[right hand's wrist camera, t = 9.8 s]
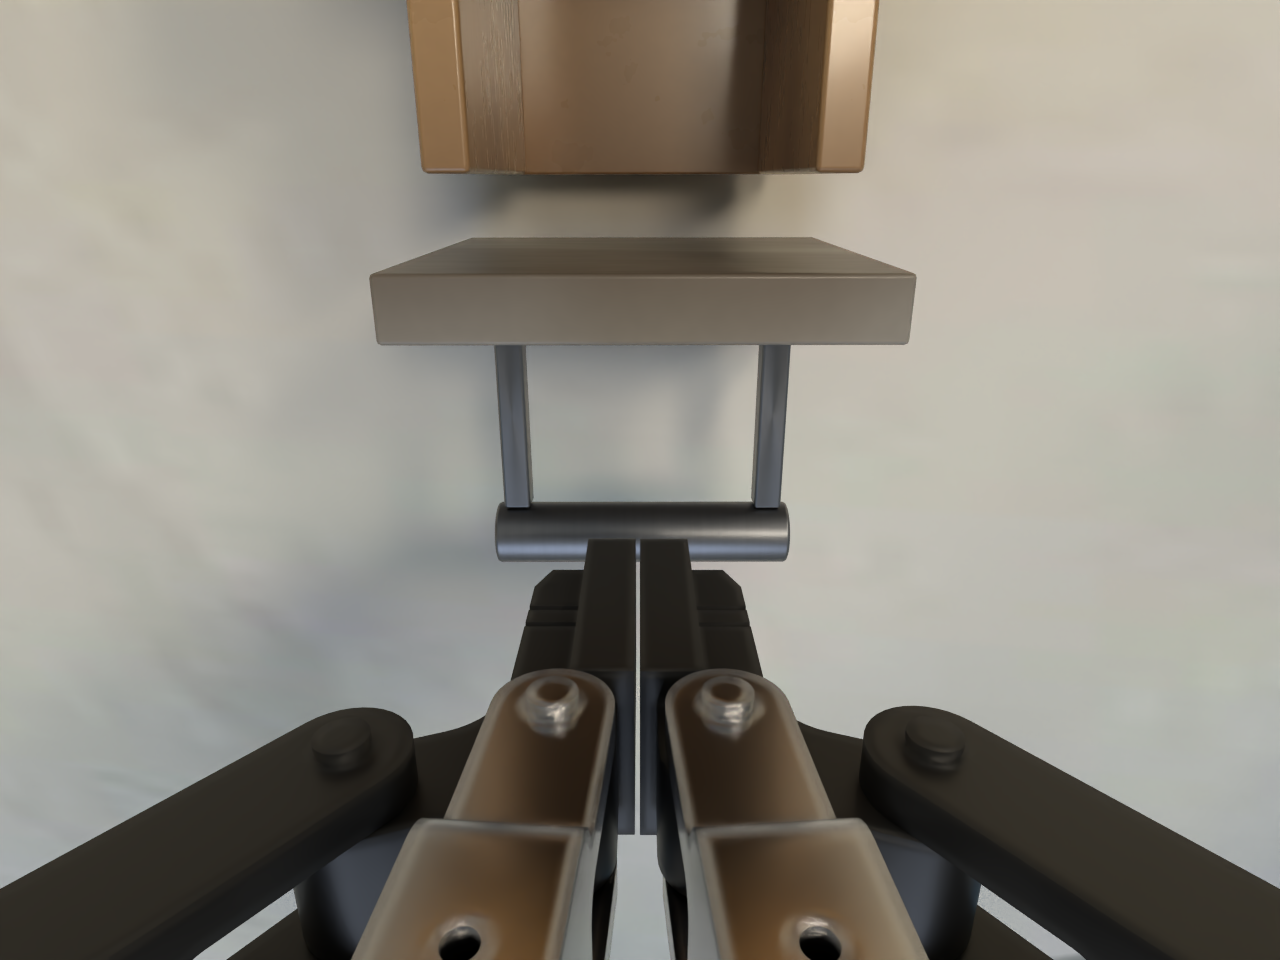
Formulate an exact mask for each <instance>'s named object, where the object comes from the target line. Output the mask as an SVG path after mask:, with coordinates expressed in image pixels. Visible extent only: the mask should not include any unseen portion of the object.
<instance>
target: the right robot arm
mask: <svg viewBox="0 0 1280 960" xmlns="http://www.w3.org/2000/svg"><path fill="white" fill-rule="evenodd" d="M635 728H636V538H589V539H588V544H587V551H586V558H585V565H584V570H553V571H551V572H550V573H549V574H548V575H547V576H546V577H545V578H544V579H543V580H542V581H541V582H539V583H538V584H537V585H536V586H535V588H534V592H533V596H532V600H531V604H530V610H529V611H528V615H527V619H526V626H525V627H524V631H523V635H522V639H521V642H520V646H519V650H518V654H517V658H516V662H515V666H514V670H513V673H512V677H511V681H510V682H508V683H507V684H505V685H504V686H503V687H502V688H500V689H499V691H498V692H497V693H496V694H495V696H494V697H493V699H492V701H491V703H490V706H489V708H488V711H487V713H486V715H485V716H484V717H482V718H480V719H479V720H477V721H475V722H473V723H470V724H468V725H466V726H463V727H460V728H457V729H454V730H450V731H446V732H442V733H437V734H432V735H428V736H423V737H419V738H414V739H413V732H412V730H411V727H410V725H409V724H408V723H407V721H406V720H404V719H403V718H402V717H401V716H399V715H397V714H395V713H393V712H390V711H387V710H384V709H378V708H351V709H345V710H339V711H336V712H332V713H328V714H326V715H323V716H320V717H317V718H315V719H313V720H311V721H309V722H307V723H305V724H303V725H301V726H299V727H298V728H296V729H294V730H292V731H290V732H288V733H287V734H285V735H283V736H281V737H279V738H277V739H276V740H274V741H272V742H270V743H268V744H266V745H264V746H263V747H261V748H259V749H257V750H255V751H253V752H252V753H250V754H248V755H246V756H244V757H242V758H241V759H239V760H237V761H235V762H233V763H231V764H229V765H228V766H226V767H224V768H222V769H220V770H218V771H217V772H215V773H213V774H211V775H209V776H207V777H206V778H204V779H202V780H200V781H198V782H196V783H194V784H193V785H191V786H189V787H187V788H185V789H183V790H182V791H180V792H178V793H176V794H174V795H172V796H171V797H169V798H167V799H165V800H163V801H161V802H159V803H158V804H156V805H154V806H152V807H150V808H148V809H147V810H145V811H143V812H141V813H139V814H137V815H136V816H134V817H132V818H130V819H128V820H126V821H124V822H123V823H121V824H119V825H117V826H115V827H113V828H112V829H110V830H108V831H106V832H104V833H102V834H101V835H99V836H97V837H95V838H93V839H91V840H90V841H88V842H86V843H84V844H82V845H80V846H78V847H77V848H75V849H73V850H71V851H69V852H67V853H66V854H64V855H62V856H60V857H58V858H56V859H55V860H53V861H51V862H49V863H47V864H45V865H43V866H42V867H40V868H38V869H36V870H34V871H32V872H31V873H29V874H27V875H25V876H23V877H21V878H20V879H18V880H16V881H14V882H12V883H10V884H8V885H7V886H5V887H3V888H1V889H0V960H193V959H194V958H195V957H196V956H197V955H199V954H200V953H201V952H203V951H204V950H205V949H207V948H208V947H210V946H211V945H213V944H214V943H215V942H217V941H218V940H220V939H221V938H223V937H224V936H225V935H227V934H228V933H230V932H231V931H233V930H234V929H235V928H237V927H238V926H240V925H241V924H243V923H244V922H245V921H247V920H248V919H250V918H251V917H253V916H254V915H255V914H257V913H258V912H260V911H261V910H263V909H264V908H265V907H267V906H268V905H270V904H271V903H273V902H274V901H275V900H277V899H278V898H280V897H281V896H283V895H284V894H286V893H287V892H288V891H290V890H291V889H294V894H295V899H296V904H297V909H296V910H295V911H293V912H292V913H291V914H289V915H288V916H286V917H285V918H284V919H282V920H281V921H280V922H278V923H277V924H275V925H274V926H273V927H271V928H270V929H268V930H267V931H266V932H264V933H263V934H262V935H260V936H259V937H257V938H256V939H255V940H253V941H252V942H250V943H249V944H248V945H246V946H245V947H244V948H242V949H241V950H239V951H238V952H237V953H235V954H234V955H232V956H231V957H230V958H228V959H227V960H609V958H610V950H611V942H612V934H613V925H614V917H615V909H616V901H617V839H618V835H635ZM640 835H657V857H658V865H659V867H660V870H661V873H662V874H663V901H664V909H665V917H666V925H667V934H668V942H669V950H670V958H671V960H1053V959H1052V958H1050V957H1049V956H1048V955H1046V954H1045V953H1043V952H1042V951H1041V950H1039V949H1038V948H1036V947H1035V946H1034V945H1032V944H1031V943H1030V942H1028V941H1027V940H1025V939H1024V938H1023V937H1021V936H1020V935H1018V934H1017V933H1016V932H1014V931H1013V930H1012V929H1010V928H1009V927H1007V926H1006V925H1005V924H1003V923H1002V922H1000V921H999V920H998V919H996V918H995V917H994V916H992V915H991V914H989V913H988V912H987V911H985V910H984V909H982V908H981V907H980V906H978V905H977V903H978V898H979V892H980V887H981V884H982V885H983V886H984V887H986V888H987V889H989V890H990V891H992V892H993V893H994V894H996V895H997V896H999V897H1000V898H1002V899H1003V900H1004V901H1006V902H1007V903H1009V904H1010V905H1012V906H1013V907H1015V908H1016V909H1017V910H1019V911H1020V912H1022V913H1023V914H1025V915H1026V916H1027V917H1029V918H1030V919H1032V920H1033V921H1035V922H1036V923H1037V924H1039V925H1040V926H1042V927H1043V928H1045V929H1046V930H1047V931H1049V932H1050V933H1052V934H1053V935H1055V936H1056V937H1057V938H1059V939H1060V940H1062V941H1063V942H1065V943H1066V944H1067V945H1069V946H1070V947H1072V948H1073V949H1074V950H1076V951H1077V952H1078V953H1080V954H1081V955H1082V956H1083V957H1084V958H1085V959H1086V960H1280V889H1279V888H1277V887H1275V886H1273V885H1272V884H1270V883H1268V882H1266V881H1264V880H1262V879H1260V878H1259V877H1257V876H1255V875H1253V874H1251V873H1249V872H1248V871H1246V870H1244V869H1242V868H1240V867H1238V866H1237V865H1235V864H1233V863H1231V862H1229V861H1227V860H1225V859H1224V858H1222V857H1220V856H1218V855H1216V854H1214V853H1213V852H1211V851H1209V850H1207V849H1205V848H1203V847H1202V846H1200V845H1198V844H1196V843H1194V842H1192V841H1190V840H1189V839H1187V838H1185V837H1183V836H1181V835H1179V834H1178V833H1176V832H1174V831H1172V830H1170V829H1168V828H1167V827H1165V826H1163V825H1161V824H1159V823H1157V822H1155V821H1154V820H1152V819H1150V818H1148V817H1146V816H1144V815H1143V814H1141V813H1139V812H1137V811H1135V810H1133V809H1132V808H1130V807H1128V806H1126V805H1124V804H1122V803H1120V802H1119V801H1117V800H1115V799H1113V798H1111V797H1109V796H1108V795H1106V794H1104V793H1102V792H1100V791H1098V790H1097V789H1095V788H1093V787H1091V786H1089V785H1087V784H1085V783H1084V782H1082V781H1080V780H1078V779H1076V778H1074V777H1073V776H1071V775H1069V774H1067V773H1065V772H1063V771H1062V770H1060V769H1058V768H1056V767H1054V766H1052V765H1050V764H1049V763H1047V762H1045V761H1043V760H1041V759H1039V758H1038V757H1036V756H1034V755H1032V754H1030V753H1028V752H1027V751H1025V750H1023V749H1021V748H1019V747H1017V746H1015V745H1014V744H1012V743H1010V742H1008V741H1006V740H1004V739H1003V738H1001V737H999V736H997V735H995V734H993V733H992V732H990V731H988V730H986V729H984V728H982V727H981V726H979V725H977V724H975V723H973V722H971V721H969V720H967V719H965V718H963V717H961V716H959V715H956V714H953V713H951V712H948V711H944V710H940V709H936V708H930V707H923V706H901V707H895V708H891V709H888V710H884V711H882V712H880V713H878V714H877V715H875V716H874V717H873V718H872V719H871V720H870V721H869V722H868V724H867V725H866V728H865V730H864V737H863V739H859V738H854V737H850V736H845V735H840V734H836V733H831V732H827V731H823V730H820V729H816V728H813V727H811V726H808V725H805V724H803V723H801V722H799V721H797V720H796V718H795V716H794V713H793V711H792V708H791V706H790V703H789V701H788V699H787V697H786V696H785V694H784V693H783V692H782V691H781V689H780V688H778V687H777V686H776V685H775V684H773V683H772V682H770V681H769V680H767V679H765V678H763V675H762V671H761V667H760V662H759V658H758V654H757V650H756V646H755V642H754V638H753V634H752V630H751V627H750V622H749V618H748V614H747V610H746V606H745V602H744V598H743V594H742V590H741V587H740V586H739V585H738V584H737V583H736V582H735V581H734V580H733V579H732V578H731V577H730V576H729V575H727V574H726V573H725V572H724V571H723V570H692V569H691V561H690V554H689V546H688V539H640Z"/></svg>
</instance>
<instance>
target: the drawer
mask: <svg viewBox="0 0 1280 960" xmlns="http://www.w3.org/2000/svg"><path fill="white" fill-rule="evenodd" d="M406 2H407V13H408V24H409V35H410V46H411V57H412V68H413V79H414V90H415V101H416V112H417V123H418V134H419V145H420V156H421V167H422V169H423V171H424V172H426V173H433V174H495V175H610V174H826V173H859V172H861V171H862V170H863V168H864V163H865V152H866V141H867V130H868V119H869V109H870V98H871V87H872V76H873V65H874V54H875V43H876V32H877V21H878V10H879V0H406ZM369 280H370V288H371V297H372V305H373V314H374V322H375V331H376V339H377V342H378V344H380V345H494V349H495V364H496V380H497V395H498V410H499V425H500V440H501V455H502V471H503V486H504V501H505V502H502V503H500V504H499V506H498V509H497V513H496V521H495V546H496V553H497V556H498V559H499V560H500V561H502V562H585V558H586V551H587V544H588V539H589V538H636V562H640V539H688V546H689V554H690V561H691V562H726V561H785V560H786V558H787V556H788V552H789V544H790V522H789V514H788V509H787V507H786V504H785V503H784V502H780V499H781V484H782V469H783V454H784V439H785V424H786V408H787V393H788V378H789V363H790V348H791V345H905V344H907V343H908V341H909V337H910V328H911V320H912V311H913V303H914V295H915V286H916V274H914V273H911V272H908V271H906V270H903V269H900V268H897V267H894V266H891V265H889V264H886V263H883V262H880V261H877V260H874V259H872V258H869V257H866V256H863V255H860V254H857V253H855V252H852V251H849V250H846V249H843V248H840V247H838V246H835V245H832V244H829V243H826V242H823V241H821V240H818V239H815V238H812V237H775V238H470V239H467V240H465V241H462V242H459V243H456V244H454V245H451V246H448V247H445V248H442V249H440V250H437V251H434V252H431V253H429V254H426V255H423V256H420V257H418V258H415V259H412V260H409V261H407V262H404V263H401V264H398V265H395V266H393V267H390V268H387V269H384V270H382V271H379V272H376V273H373V274H371V275H370V278H369ZM526 345H759V357H758V377H757V396H756V415H755V434H754V454H753V473H752V492H751V498H752V501H753V502H532V500H533V480H532V460H531V441H530V422H529V403H528V383H527V364H526Z"/></svg>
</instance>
